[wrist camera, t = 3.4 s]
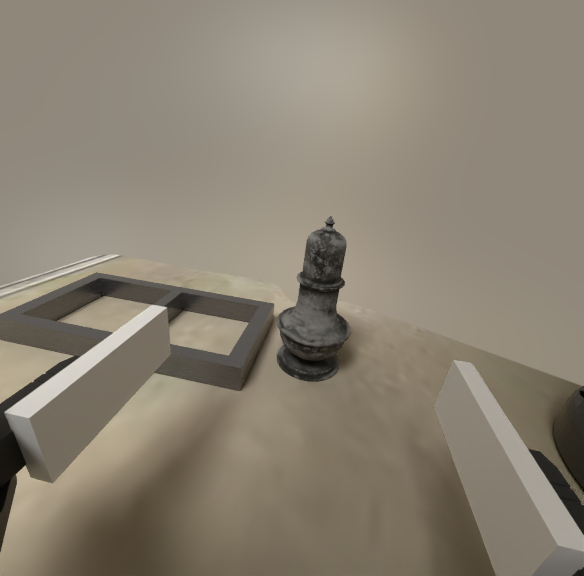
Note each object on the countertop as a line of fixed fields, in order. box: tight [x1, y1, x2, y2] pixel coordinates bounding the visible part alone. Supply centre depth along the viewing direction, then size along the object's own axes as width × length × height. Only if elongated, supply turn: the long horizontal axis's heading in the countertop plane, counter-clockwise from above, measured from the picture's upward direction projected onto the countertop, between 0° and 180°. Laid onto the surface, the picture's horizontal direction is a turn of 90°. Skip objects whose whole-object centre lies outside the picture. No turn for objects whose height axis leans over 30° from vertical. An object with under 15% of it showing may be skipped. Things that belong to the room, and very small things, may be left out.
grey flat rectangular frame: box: [0, 273, 274, 391], centre depth 26 cm, size 20×10×2 cm, turn 81°
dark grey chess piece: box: [277, 216, 350, 381], centre depth 22 cm, size 6×6×12 cm
